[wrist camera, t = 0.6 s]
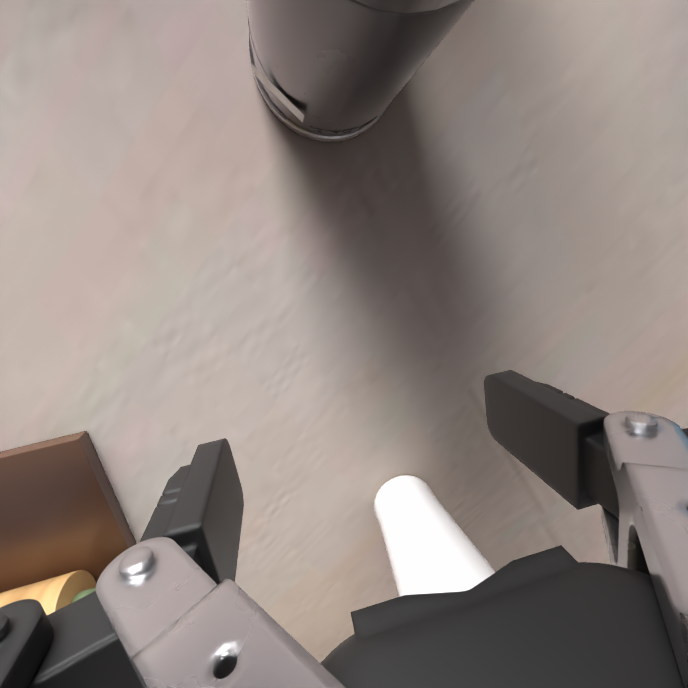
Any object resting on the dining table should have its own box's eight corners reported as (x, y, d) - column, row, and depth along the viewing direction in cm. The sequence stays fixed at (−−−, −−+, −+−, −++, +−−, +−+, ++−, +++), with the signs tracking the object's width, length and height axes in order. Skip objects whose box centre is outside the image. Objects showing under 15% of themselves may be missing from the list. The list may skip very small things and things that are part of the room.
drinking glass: (396, 542, 34) (484, 750, 20) (348, 502, 32) (409, 704, 18) (450, 493, 34) (577, 670, 20) (405, 450, 32) (511, 614, 18)
